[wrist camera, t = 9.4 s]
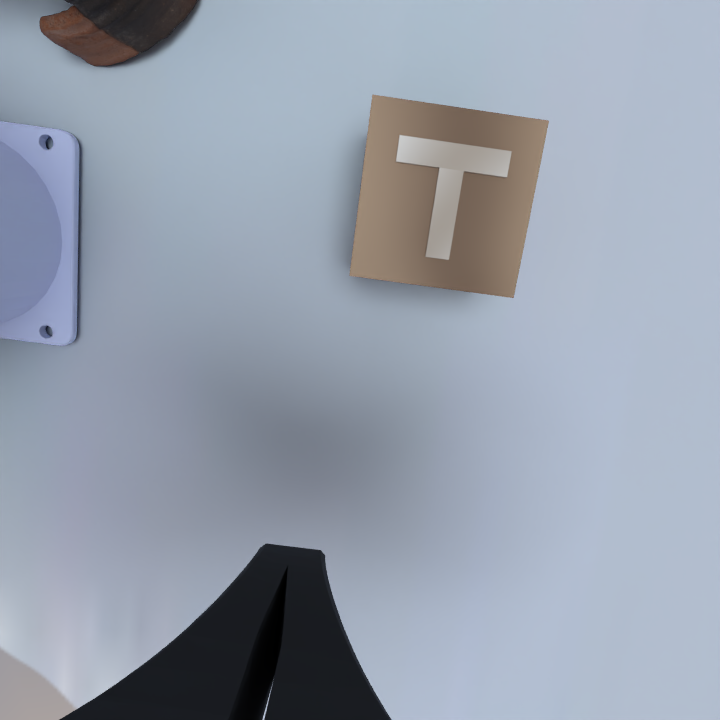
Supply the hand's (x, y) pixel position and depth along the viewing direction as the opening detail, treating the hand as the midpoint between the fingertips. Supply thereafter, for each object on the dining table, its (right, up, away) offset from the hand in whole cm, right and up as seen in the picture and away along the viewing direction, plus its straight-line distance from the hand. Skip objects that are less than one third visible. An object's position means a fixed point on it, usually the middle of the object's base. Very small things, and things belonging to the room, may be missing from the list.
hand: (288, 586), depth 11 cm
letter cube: (+4, +11, +8) cm, 14 cm away
